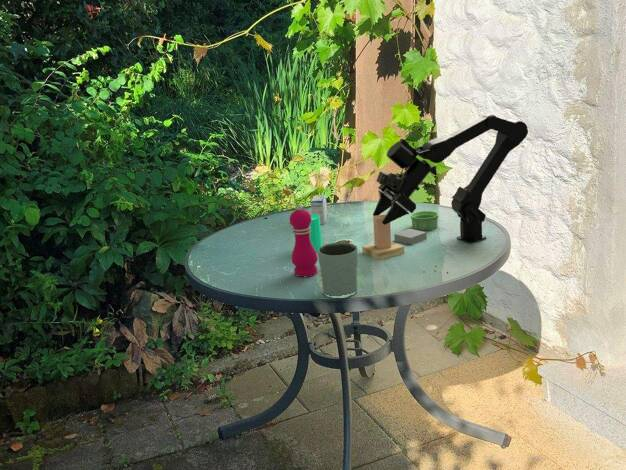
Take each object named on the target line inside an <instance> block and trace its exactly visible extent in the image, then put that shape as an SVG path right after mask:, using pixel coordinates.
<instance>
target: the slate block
mask: <svg viewBox="0 0 626 470" xmlns="http://www.w3.org/2000/svg"><path fill="white" fill-rule="evenodd" d="M393 235H394V237H393V238H394V241H395V242H400V243H404V244H407V245H413V244H414V245H415V244H417V243H419V242H422V241H424V240H427V239H428V238H427V237H428V235H427V231H424V230H416V229H414V228H407V229H404V230H402V231H400V232H396V233H394V234H393Z"/></svg>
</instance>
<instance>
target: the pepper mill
mask: <svg viewBox="0 0 626 470" xmlns="http://www.w3.org/2000/svg"><path fill="white" fill-rule="evenodd" d="M295 208H296V210H294V211H292V213H291V214H290V215H289V224H290V225H291V226H292V234H294V239H295V240H294V242H295V243H294V247H293V249H292V252H291V253H292V254H291V262H292V265H294V266H295V267H294V274H296V275H299V276H310V277H312V276H311V275H313V276H315V275H316V274H317V273H318V268H317V265H316V263H317V262H318V261H319V257H318V252H316V251H315V249H314V248H313V246H312V244H311V241H310V232H311V230H310V228H311V227H310V226H309V225H310V223H311V221H312V218H311V215H312V214H311V213H309V211H308V210H306V209H303V208H304V207H303V205H302V204H300V203H299V204H296V206H295ZM314 274H315V275H314ZM296 275H295V276H296Z"/></svg>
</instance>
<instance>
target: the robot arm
mask: <svg viewBox="0 0 626 470" xmlns="http://www.w3.org/2000/svg"><path fill="white" fill-rule="evenodd" d="M490 130H493V131H496V132H497V133H496V136H495V143H494V145H493V146H492V148H491V150H490V151H489V152H488V154H487V155H486V158H485V159H484V160H483V162H482V163H481V165H480V167H479V169H477V172H475V175H474V176H473V178H472V179H471V181H470V182H469V184H467V185H466V186H465V187H462V186H459V187H458V188H457V190H456V192H455V193H454V195H453V196H451V198H452V200H451V203H450V204H451V205H450V206H451V208H452V210H453V211H454V212H455V214H457V216H458V217H459V218H460V221H459V226H460V228H459V233H460V235H458V236H456V239H457V240H461V241H463V242H466V243H469V244H471V243H472V244H473V243H475V242H478V241H482V240H486V239H487V236H485V235H483V222H485V219H486V214H485V213H484V212H483V211H482V210H481V209H480V206H481V203H482V200H483V194H484V191H485V190H486V188H487V187H488V186H489V184H490V182H491V181H492V179H493V178H494V176H495V175H496V173H497V172H498V170H499V168H500V167H501V165H502V164H503V162H504V161H505V159H506V157H507V156H508V154H510V152H511V151H513V149H515V148H517V147H519V145H520V144H521V143H522V142H523V141H524V140H525V139H526V138H527V136H528V133H529V129H528V125H527V124H526V123H525V122H524V121H521V120H516V119H512V118H509V119H503V118H501V117H498V116H496V115H494V114H491V113H485V114H482V115H481V116H480V117H478V118H476V119H475V120H473V121H471V122H470V123H468V124H466V125H464V126H462V127H460V128H459V129H457V130H455V131H453V132H452V133H449V134H447V135H445V136H440V137H436V138H432V139H429V140H427V141H425V142H424V143H423V144H422V145H420V146H417V147H413V146H412V145H411V144H409V143H408V141H407V140H405V139H404V138H401V139H399V141H397V142H395V143H394V144H393V145H391V146H390V148H389V149H388V150H387V152H386V158H388V159H389V160H390V161H392V162H393V163H394V164H395V165H397V166H398V168H400V169H404V168H406V170H405V171H404V172H403V173H399V174H396V173H392V172H390V173H387V172H384V171H379V172H378V176H377V178H376V180H375V181H376V182H377V183H378V184H379V186H378V189H379V190H377V191H378V195H379V196H378V197H379V199H378V201H377V204H376V206H375V208H374V211H373V213H372V216H377V215H382V213H384V212H386V211H387V210H388V209H389V210H388V211H387V212H386V214H385V215H386V216H385V218H384V219H383V221H382V223H383V224H384V225H386V224H388V223H390V224H391V223H392V222H394V221H395V220H397V219H399V218H402V217H404V216H406V215H409V214H412V213H415V210H416V209H417V203H415V202H414V201H413V200H412V199H411V198H410V197H411V196H412V195H413V194H414V192H415V191H417V192H418V191H419V190H420V188H421V187H419V186H420V185H421V184H422V183H423V181H424V180H425V179H426V178H427V176H428V175H429V174H431V175H434V176H435V177H436V176H438V174H437V165H434V164H440V163H442V162H443V161H444V160H446V159H447V158H448V157H450V156H451V155H452V153H454V151H455V150H456V149H458V148H459V147H461V146H463V145H464V144H466V143H469V142H470V141H472V140H474V139H476V138H477V137H480V136H481V135H483V134H484V133H487V132H489V131H490ZM418 157H419V158H421V159H419V158H418ZM426 160H427V161H426ZM428 161H429V162H431V163H434V164H432V165H431V164H430V163H429V162H428ZM409 212H410V213H409Z"/></svg>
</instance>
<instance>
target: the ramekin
mask: <svg viewBox="0 0 626 470" xmlns="http://www.w3.org/2000/svg"><path fill="white" fill-rule="evenodd" d="M410 218H411V224H412V225H411V226H412V229H414V230H418V231H431V230H434V229H437V227H438V225H439V224H438V223H439V222H438V221H439V213H438V212H437V211H433V210H420V211H416V212H415V211H414V212H413V213H410Z"/></svg>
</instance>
